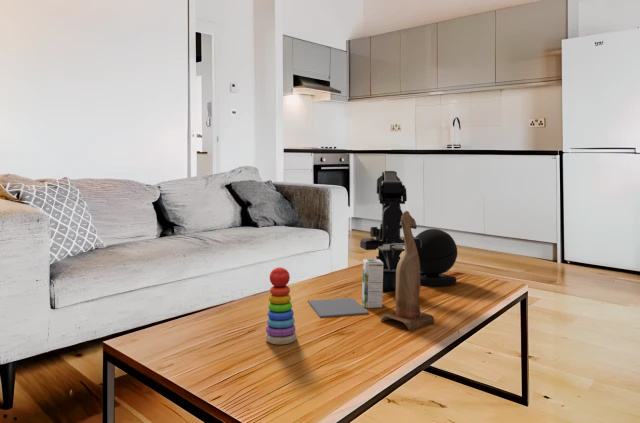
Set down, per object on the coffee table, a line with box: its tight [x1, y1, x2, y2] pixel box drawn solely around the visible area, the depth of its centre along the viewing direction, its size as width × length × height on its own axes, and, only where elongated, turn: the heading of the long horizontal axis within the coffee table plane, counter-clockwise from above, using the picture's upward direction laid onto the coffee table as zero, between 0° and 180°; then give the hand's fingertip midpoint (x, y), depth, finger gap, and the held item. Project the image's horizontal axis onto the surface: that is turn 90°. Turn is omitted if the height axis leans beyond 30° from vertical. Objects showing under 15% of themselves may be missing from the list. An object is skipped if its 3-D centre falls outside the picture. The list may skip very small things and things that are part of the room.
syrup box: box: [361, 258, 384, 309], centre depth 155 cm, size 6×6×14 cm
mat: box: [307, 297, 370, 318], centre depth 153 cm, size 15×16×1 cm
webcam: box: [415, 228, 458, 288], centre depth 186 cm, size 17×17×20 cm
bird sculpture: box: [380, 210, 435, 332], centre depth 138 cm, size 11×12×32 cm
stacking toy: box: [265, 266, 297, 345], centre depth 125 cm, size 8×8×19 cm
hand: (390, 270), depth 156 cm, fingers closed
